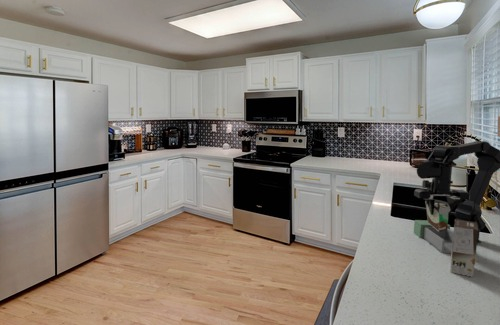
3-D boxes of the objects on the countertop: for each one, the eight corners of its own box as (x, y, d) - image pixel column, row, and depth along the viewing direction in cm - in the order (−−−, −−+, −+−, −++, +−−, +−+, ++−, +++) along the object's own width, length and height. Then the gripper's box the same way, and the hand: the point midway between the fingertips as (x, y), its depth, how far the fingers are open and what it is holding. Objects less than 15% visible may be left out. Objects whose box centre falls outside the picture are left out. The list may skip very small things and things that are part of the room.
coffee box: (473, 278, 95) (479, 230, 93) (449, 272, 98) (454, 226, 96) (472, 266, 102) (477, 222, 100) (450, 261, 106) (454, 218, 104)
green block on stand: (441, 233, 133) (442, 220, 132) (471, 254, 112) (473, 239, 111) (413, 232, 134) (414, 220, 133) (438, 252, 113) (439, 237, 112)
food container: (457, 232, 114) (457, 207, 113) (440, 233, 115) (439, 209, 114) (441, 220, 126) (440, 197, 125) (426, 221, 127) (425, 199, 126)
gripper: (456, 174, 125) (453, 209, 127) (409, 173, 127) (407, 208, 129) (472, 179, 114) (469, 217, 116) (421, 178, 116) (418, 216, 118)
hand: (439, 214), depth 120 cm, fingers closed on food container, 6 cm apart
